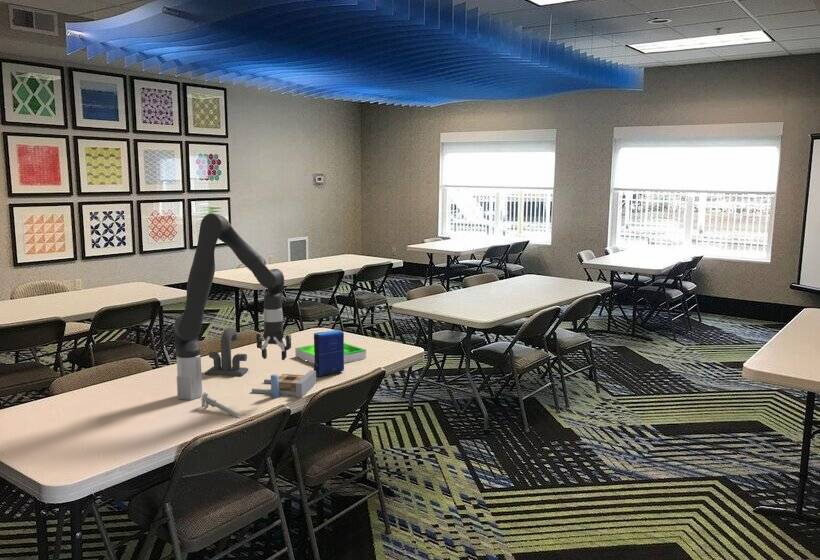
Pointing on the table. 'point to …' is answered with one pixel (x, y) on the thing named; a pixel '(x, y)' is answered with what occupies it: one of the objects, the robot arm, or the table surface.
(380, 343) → the table surface
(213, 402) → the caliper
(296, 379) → the socket block
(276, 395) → the dowel
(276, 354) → the table surface
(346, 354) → the tray
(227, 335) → the faucet
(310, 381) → the backstop
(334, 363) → the book
